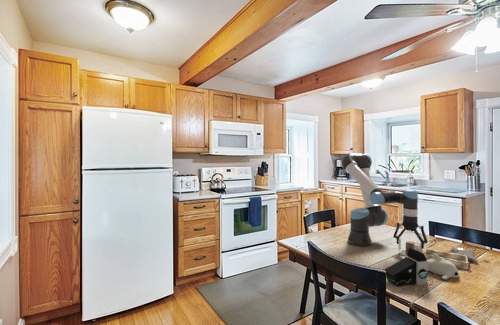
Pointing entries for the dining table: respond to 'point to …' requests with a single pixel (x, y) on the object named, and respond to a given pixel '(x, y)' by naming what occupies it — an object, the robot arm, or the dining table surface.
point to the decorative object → (409, 270)
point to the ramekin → (416, 245)
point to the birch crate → (448, 257)
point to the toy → (442, 267)
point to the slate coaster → (403, 253)
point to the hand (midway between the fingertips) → (409, 251)
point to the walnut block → (409, 245)
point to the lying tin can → (464, 252)
